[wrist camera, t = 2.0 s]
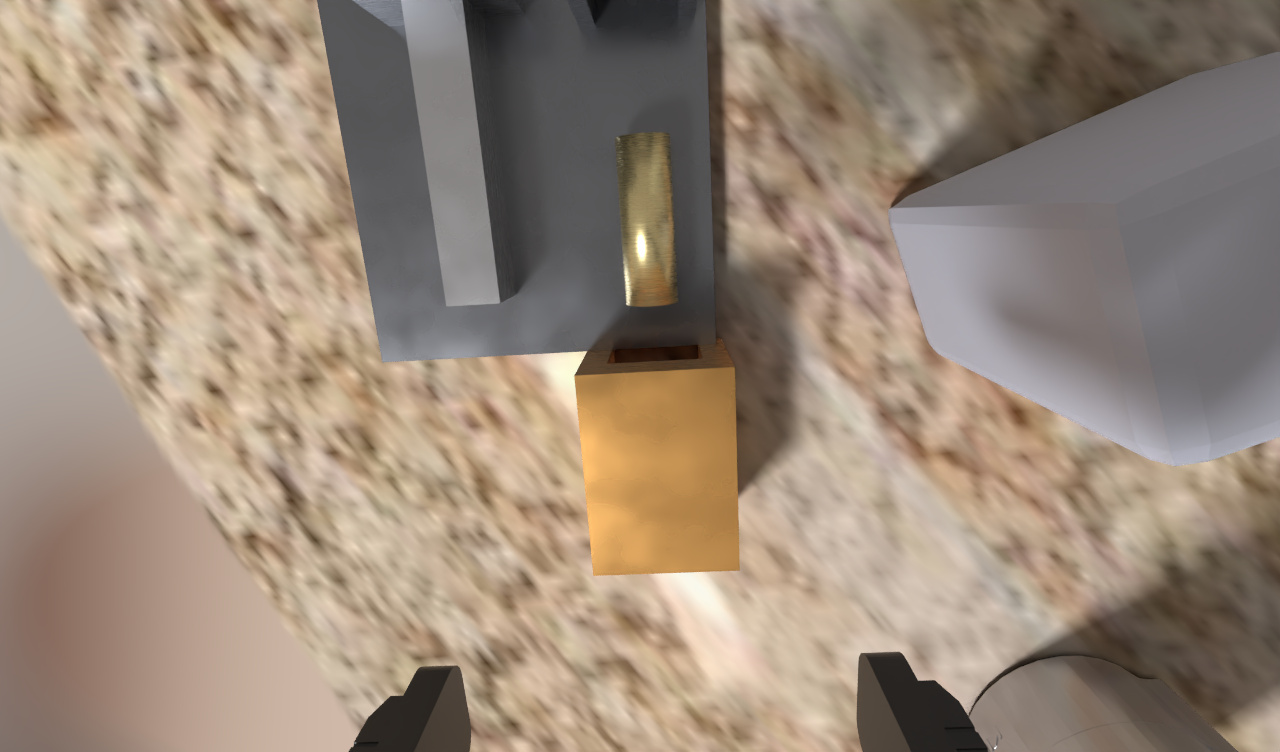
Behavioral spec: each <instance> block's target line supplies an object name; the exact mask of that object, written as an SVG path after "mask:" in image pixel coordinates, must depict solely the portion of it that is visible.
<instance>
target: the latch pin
mask: <svg viewBox="0 0 1280 752" xmlns="http://www.w3.org/2000/svg"><path fill="white" fill-rule="evenodd" d="M615 150H616V165H617V179H618V193H619V208H620V222H621V237H622V251H623V265H624V280H625V294H626V305H628V306H635V307H649V306H662V305H669V304H673V303H676V302H678V292H677V271H676V249H675V228H674V207H673V186H672V164H671V143H670V134H669V133H661V132H649V133H635V134H627V135H621V136H618V137H615Z"/></svg>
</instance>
